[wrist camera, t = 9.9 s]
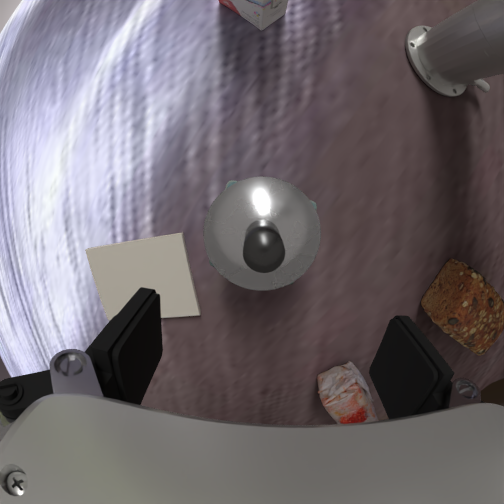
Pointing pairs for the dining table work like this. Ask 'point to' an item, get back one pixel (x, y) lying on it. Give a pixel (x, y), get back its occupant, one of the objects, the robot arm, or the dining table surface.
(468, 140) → the dining table surface
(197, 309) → the linen napkin
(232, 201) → the lid
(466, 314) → the bread
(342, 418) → the food item
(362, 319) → the dining table surface
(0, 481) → the robot arm
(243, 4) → the ink cartridge box
